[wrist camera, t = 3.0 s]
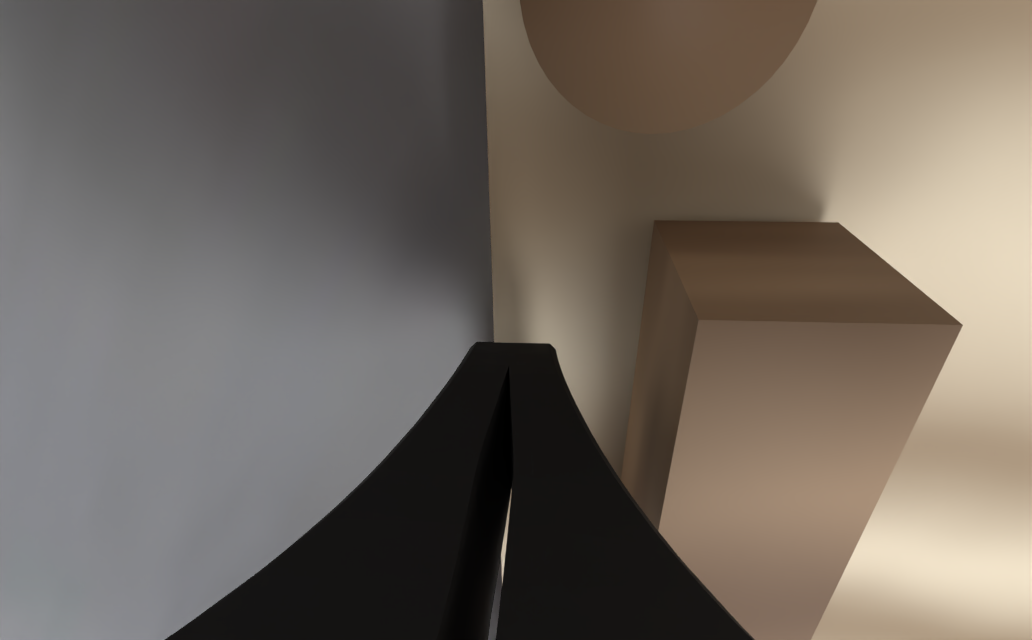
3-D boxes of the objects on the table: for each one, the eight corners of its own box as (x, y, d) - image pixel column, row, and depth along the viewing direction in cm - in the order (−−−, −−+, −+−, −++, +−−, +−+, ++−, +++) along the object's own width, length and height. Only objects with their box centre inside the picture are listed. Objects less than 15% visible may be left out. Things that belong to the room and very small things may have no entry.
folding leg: (708, 639, 14) (743, 779, 12) (600, 634, 15) (612, 772, 12) (838, 222, 9) (963, 324, 6) (654, 219, 9) (699, 320, 6)
